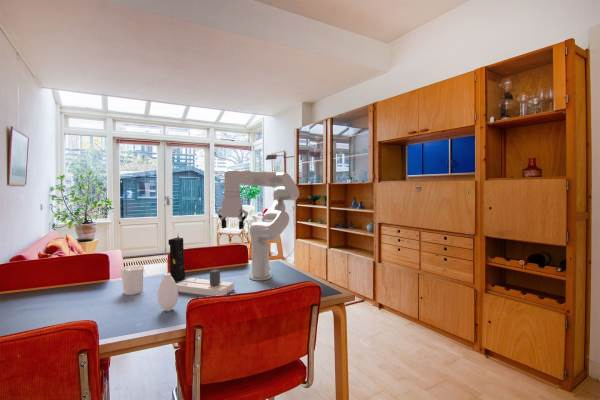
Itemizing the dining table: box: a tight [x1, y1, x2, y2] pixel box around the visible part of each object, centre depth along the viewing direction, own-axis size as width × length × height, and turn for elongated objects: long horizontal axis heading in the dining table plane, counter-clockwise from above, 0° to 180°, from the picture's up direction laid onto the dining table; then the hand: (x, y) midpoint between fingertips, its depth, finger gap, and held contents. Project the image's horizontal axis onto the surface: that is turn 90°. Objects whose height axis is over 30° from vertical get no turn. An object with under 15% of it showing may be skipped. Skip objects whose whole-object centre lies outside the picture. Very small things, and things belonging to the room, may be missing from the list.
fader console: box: [176, 277, 235, 298], centre depth 154 cm, size 12×26×4 cm, turn 72°
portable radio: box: [167, 233, 186, 282], centre depth 173 cm, size 8×6×25 cm
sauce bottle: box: [157, 267, 179, 312], centre depth 131 cm, size 8×8×18 cm
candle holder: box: [120, 264, 145, 296], centre depth 153 cm, size 10×10×12 cm
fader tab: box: [209, 268, 221, 286], centre depth 152 cm, size 4×3×10 cm
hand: (232, 228), depth 159 cm, fingers open, 9 cm apart
